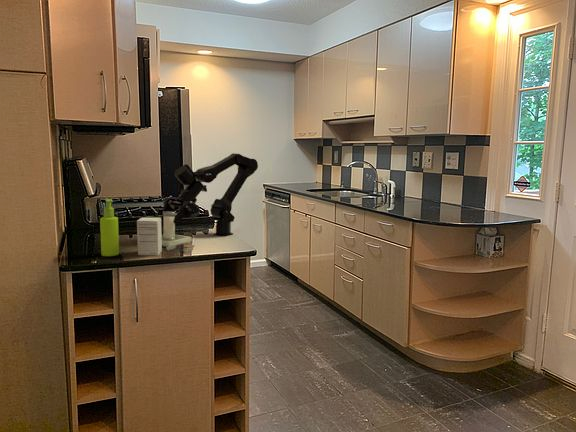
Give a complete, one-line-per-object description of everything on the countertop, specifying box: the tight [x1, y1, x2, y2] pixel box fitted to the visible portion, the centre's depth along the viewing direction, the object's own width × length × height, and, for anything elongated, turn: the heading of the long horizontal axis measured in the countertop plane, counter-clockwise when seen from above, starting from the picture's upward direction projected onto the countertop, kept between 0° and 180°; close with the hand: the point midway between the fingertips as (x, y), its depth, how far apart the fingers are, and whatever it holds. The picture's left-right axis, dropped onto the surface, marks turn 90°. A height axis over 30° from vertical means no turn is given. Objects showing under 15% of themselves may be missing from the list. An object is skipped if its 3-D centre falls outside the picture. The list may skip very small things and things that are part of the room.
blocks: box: [166, 244, 196, 253], centre depth 172 cm, size 10×8×1 cm
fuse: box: [162, 211, 176, 241], centre depth 181 cm, size 5×5×12 cm
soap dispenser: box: [99, 198, 120, 257], centre depth 158 cm, size 6×7×20 cm
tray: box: [161, 233, 193, 248], centre depth 182 cm, size 13×13×2 cm
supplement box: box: [136, 217, 163, 256], centre depth 163 cm, size 7×7×13 cm
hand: (168, 221), depth 180 cm, fingers open, 9 cm apart
